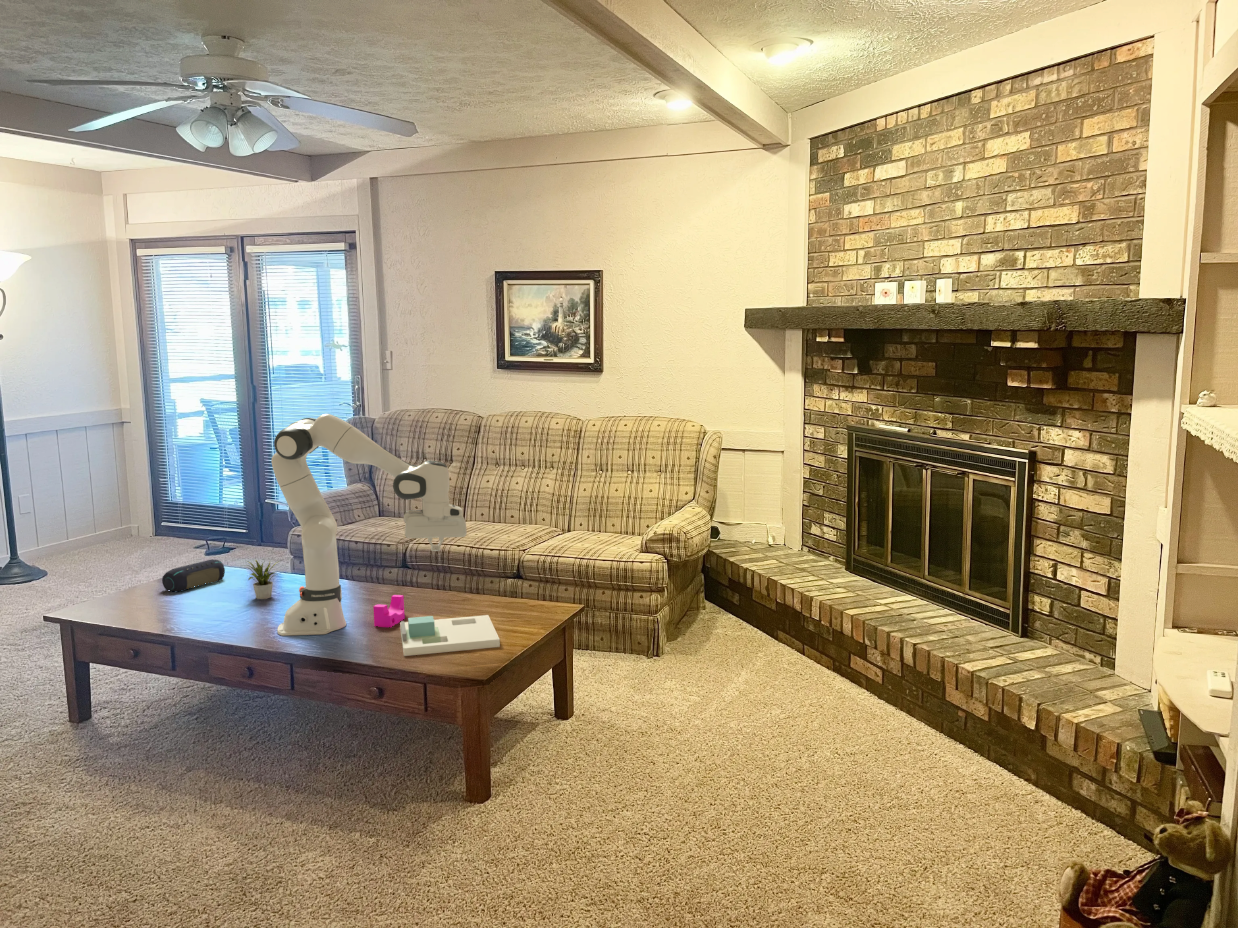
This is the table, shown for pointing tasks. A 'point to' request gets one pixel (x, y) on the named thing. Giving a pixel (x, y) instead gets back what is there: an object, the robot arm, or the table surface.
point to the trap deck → (452, 636)
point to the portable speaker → (193, 575)
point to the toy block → (389, 612)
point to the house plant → (262, 581)
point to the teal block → (421, 626)
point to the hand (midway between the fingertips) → (435, 550)
